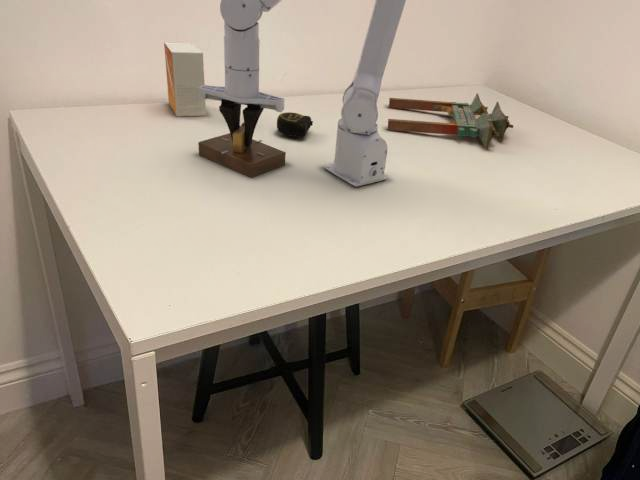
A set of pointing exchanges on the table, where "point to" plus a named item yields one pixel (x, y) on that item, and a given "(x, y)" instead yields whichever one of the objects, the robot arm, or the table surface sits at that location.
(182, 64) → the small box
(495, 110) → the miniature gate
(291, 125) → the tape measure
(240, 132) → the thumb turn
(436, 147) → the table surface
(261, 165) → the plate
